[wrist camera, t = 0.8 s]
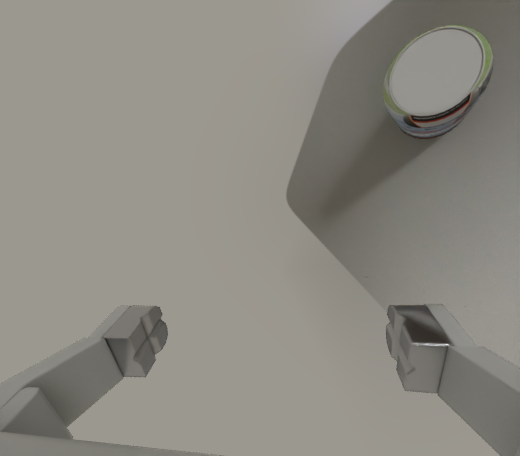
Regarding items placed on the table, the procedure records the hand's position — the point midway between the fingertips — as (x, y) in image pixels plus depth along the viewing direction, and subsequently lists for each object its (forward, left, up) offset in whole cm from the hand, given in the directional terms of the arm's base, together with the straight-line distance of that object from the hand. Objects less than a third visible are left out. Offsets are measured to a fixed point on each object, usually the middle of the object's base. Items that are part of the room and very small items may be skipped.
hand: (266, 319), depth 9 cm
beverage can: (-8, +1, -27) cm, 28 cm away
